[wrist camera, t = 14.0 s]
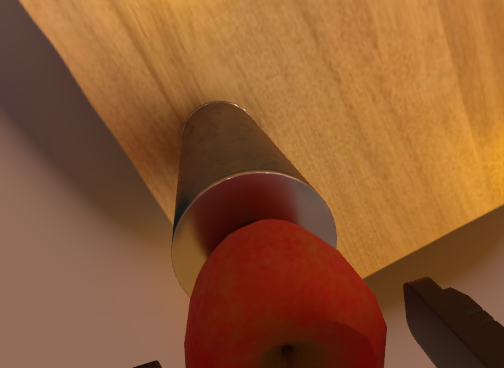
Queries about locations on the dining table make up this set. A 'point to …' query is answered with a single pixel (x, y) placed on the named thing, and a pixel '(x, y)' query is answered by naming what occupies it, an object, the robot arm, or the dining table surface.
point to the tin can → (234, 187)
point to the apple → (281, 305)
